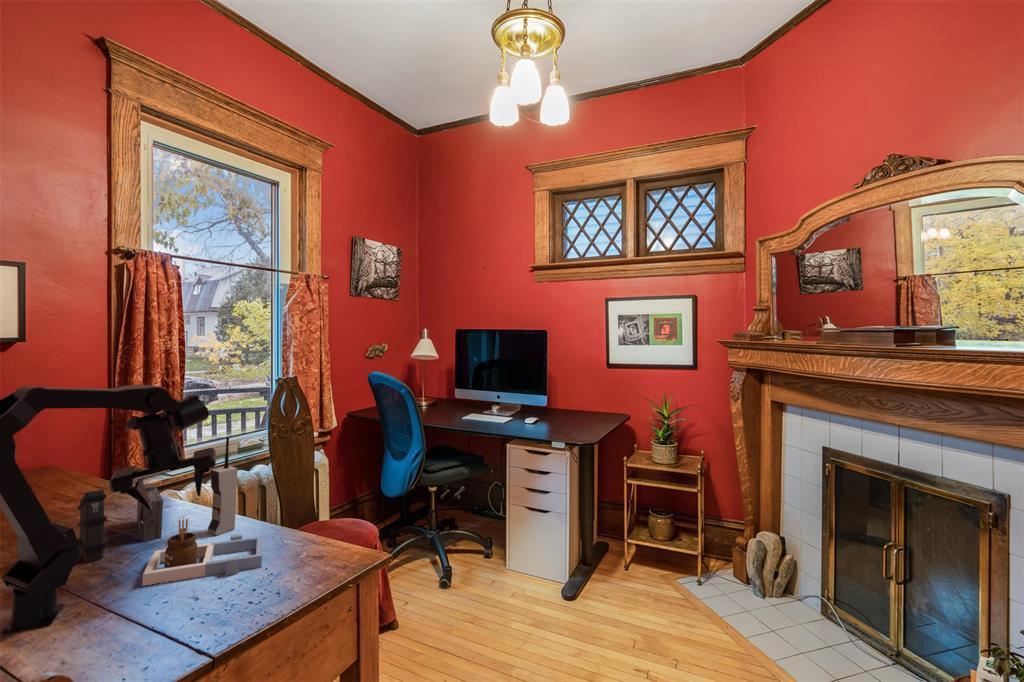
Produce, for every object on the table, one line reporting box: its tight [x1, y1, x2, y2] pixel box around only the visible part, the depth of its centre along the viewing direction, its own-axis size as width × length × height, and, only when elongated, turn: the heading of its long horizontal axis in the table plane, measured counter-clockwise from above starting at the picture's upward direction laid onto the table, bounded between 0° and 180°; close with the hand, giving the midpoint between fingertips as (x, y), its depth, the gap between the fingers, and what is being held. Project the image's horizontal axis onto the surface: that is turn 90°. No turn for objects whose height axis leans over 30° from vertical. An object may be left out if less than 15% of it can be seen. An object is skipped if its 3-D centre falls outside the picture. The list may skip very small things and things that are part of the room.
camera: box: [136, 484, 164, 542], centre depth 121 cm, size 16×4×10 cm, turn 44°
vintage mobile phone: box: [207, 436, 238, 536], centre depth 122 cm, size 4×5×25 cm
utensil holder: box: [164, 515, 198, 569], centre depth 103 cm, size 6×6×12 cm
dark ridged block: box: [77, 489, 107, 563], centre depth 108 cm, size 4×13×15 cm, turn 49°
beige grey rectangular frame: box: [142, 533, 264, 587], centre depth 105 cm, size 14×22×3 cm, turn 118°
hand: (175, 501), depth 105 cm, fingers open, 9 cm apart
